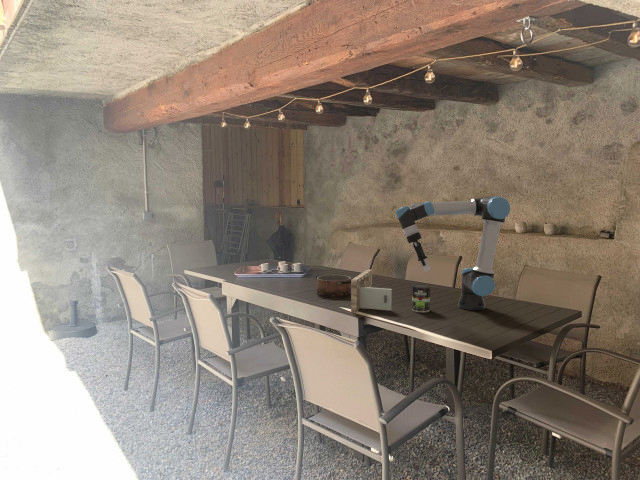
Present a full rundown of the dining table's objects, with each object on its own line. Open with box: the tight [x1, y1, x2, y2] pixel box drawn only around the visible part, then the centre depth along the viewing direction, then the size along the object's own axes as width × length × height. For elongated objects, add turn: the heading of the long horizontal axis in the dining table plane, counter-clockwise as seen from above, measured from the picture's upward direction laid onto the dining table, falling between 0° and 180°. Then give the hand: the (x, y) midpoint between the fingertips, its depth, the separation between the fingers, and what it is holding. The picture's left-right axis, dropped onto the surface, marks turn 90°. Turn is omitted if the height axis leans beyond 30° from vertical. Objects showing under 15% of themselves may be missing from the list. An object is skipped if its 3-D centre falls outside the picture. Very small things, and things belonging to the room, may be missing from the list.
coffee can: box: [411, 283, 432, 313], centre depth 261 cm, size 10×10×14 cm
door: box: [359, 286, 393, 311], centre depth 262 cm, size 20×3×12 cm, turn 71°
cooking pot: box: [315, 274, 352, 298], centre depth 305 cm, size 30×22×11 cm
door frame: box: [350, 269, 373, 313], centre depth 275 cm, size 38×3×18 cm, turn 161°
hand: (428, 271), depth 246 cm, fingers open, 13 cm apart
